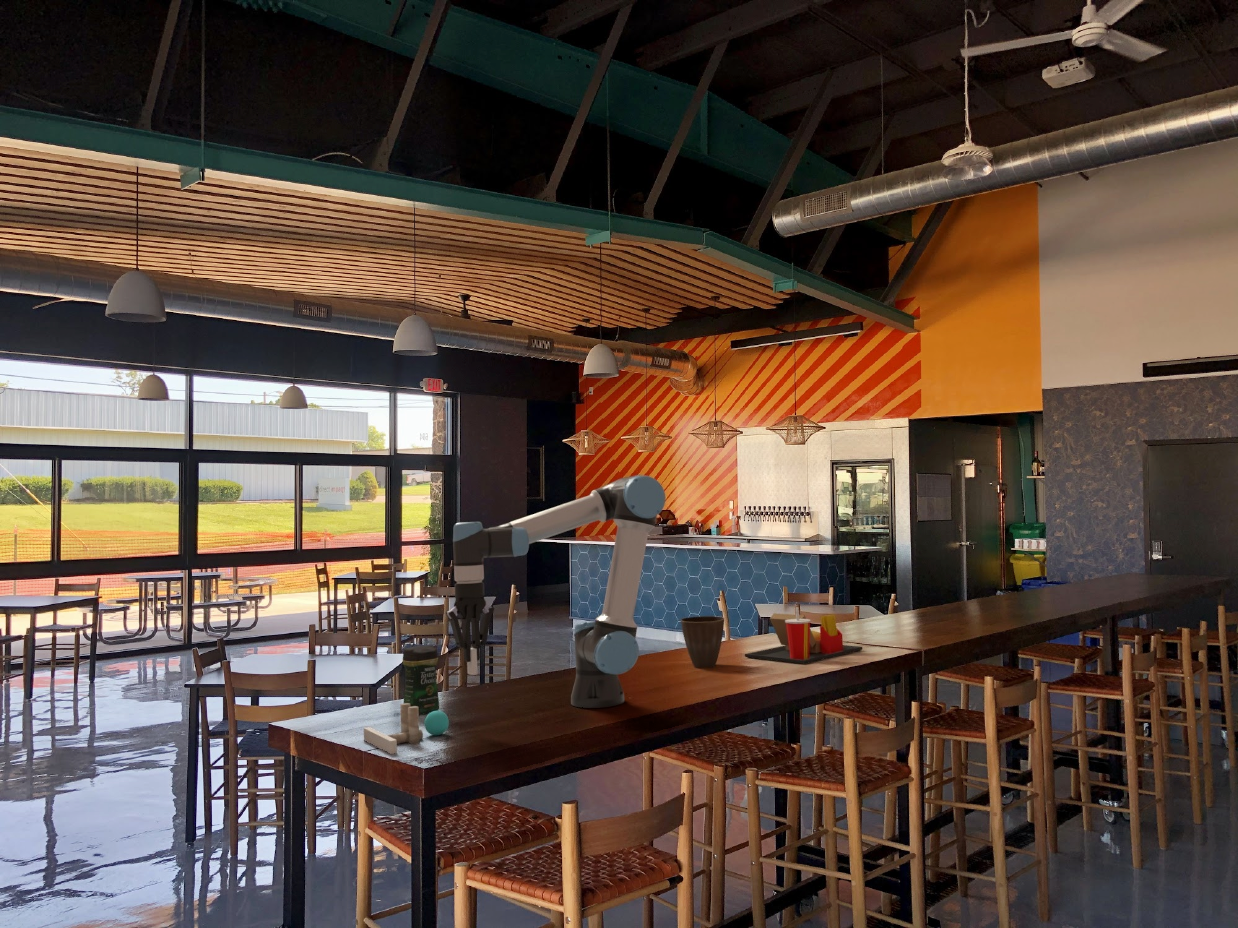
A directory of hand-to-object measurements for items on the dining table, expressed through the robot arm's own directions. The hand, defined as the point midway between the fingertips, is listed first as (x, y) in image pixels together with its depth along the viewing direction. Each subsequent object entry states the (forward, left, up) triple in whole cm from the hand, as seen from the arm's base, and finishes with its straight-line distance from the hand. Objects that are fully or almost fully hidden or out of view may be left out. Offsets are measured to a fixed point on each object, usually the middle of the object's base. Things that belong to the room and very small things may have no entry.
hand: (472, 673), depth 237 cm
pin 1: (+17, -3, -14) cm, 22 cm away
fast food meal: (-138, -17, -15) cm, 140 cm away
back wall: (+25, 0, -14) cm, 29 cm away
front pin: (+15, 0, -13) cm, 19 cm away
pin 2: (+17, +2, -14) cm, 22 cm away
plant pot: (-99, -26, -14) cm, 103 cm away
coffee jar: (+2, -29, -14) cm, 32 cm away
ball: (+10, -1, -11) cm, 15 cm away
